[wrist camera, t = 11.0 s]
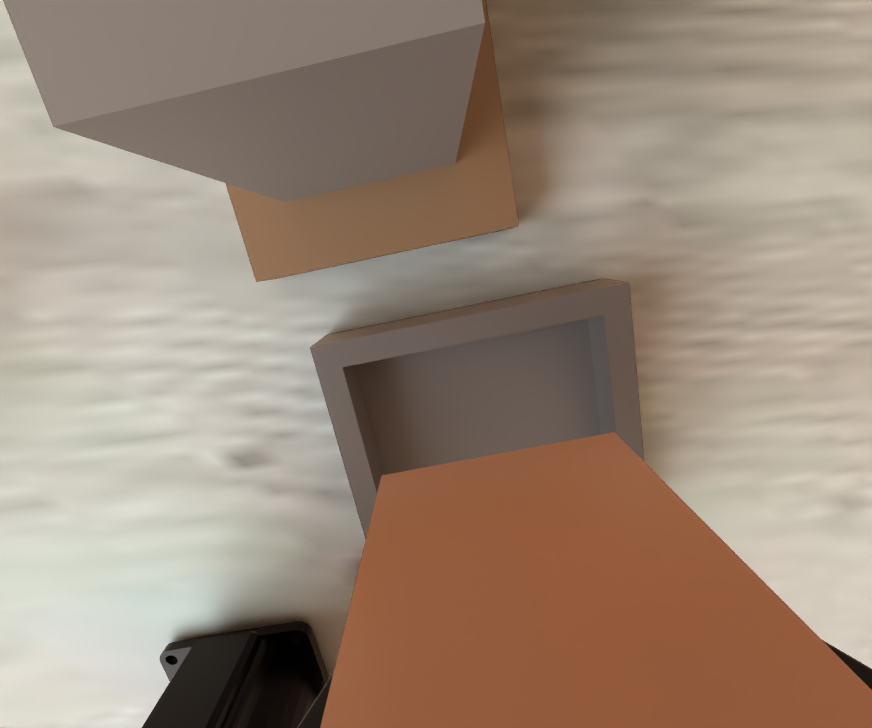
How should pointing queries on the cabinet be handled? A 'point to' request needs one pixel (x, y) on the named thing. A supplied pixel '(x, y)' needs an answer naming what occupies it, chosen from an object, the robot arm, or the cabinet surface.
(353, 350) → the tray
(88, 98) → the mounted unit
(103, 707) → the cabinet surface
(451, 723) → the terracotta block
